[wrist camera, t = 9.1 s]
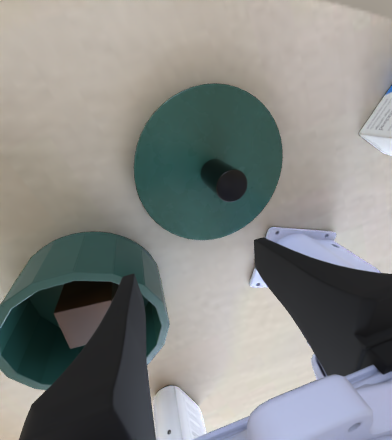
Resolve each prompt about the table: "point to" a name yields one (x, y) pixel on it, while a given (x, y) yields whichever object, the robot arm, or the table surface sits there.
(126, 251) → the tin
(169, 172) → the lid
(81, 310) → the block
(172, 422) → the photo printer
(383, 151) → the ink box
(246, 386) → the table surface
